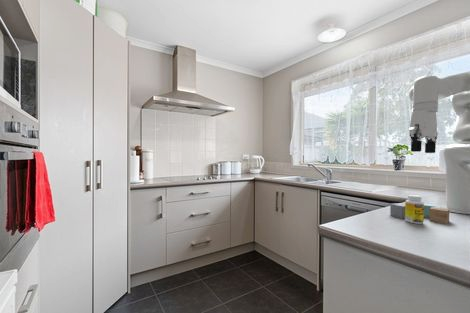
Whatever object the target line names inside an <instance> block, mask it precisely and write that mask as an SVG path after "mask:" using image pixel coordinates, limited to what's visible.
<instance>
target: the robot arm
mask: <svg viewBox="0 0 470 313" xmlns="http://www.w3.org/2000/svg"><path fill="white" fill-rule="evenodd" d="M448 97H450V103H451V105H452V108H453V111H454V112H455V115H456V122H455V125H454V130H453V132H452V140H453V141H454V142H455V143H452V144H449V145H447V146H446V147H445V148H443V149H444V150H443V157H444V162H445V173H446V174H445V205H441V207H440V208H445V209H449V213H457V214H463V215H470V166H469V165H470V70H469V71H465V72H461V73H457V74H452V75H447V76H445V77H441V78H439V76H435V75H424V76H421V77H418V78H416V79H415V80H414V81H413V85H412V87H411V88H410V89H409V92H408V98H409V99H410V100H409V101H411V102H412V113H411V118H410V124H409V133H408V134H409V137H410V152H413V153H414V152H415V153H416V152H417V153H418V152H421V151H422V146H423V144H422V139H425V143H424V144H425V145H424V153H425V154H436V149H437V148H436V147H437V146H436V144H437V139H438V131H437V130H438V121H437V120H438V119H437V113H438V112H439V111H438V110H439V100H440V99H446V98H448Z"/></svg>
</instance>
